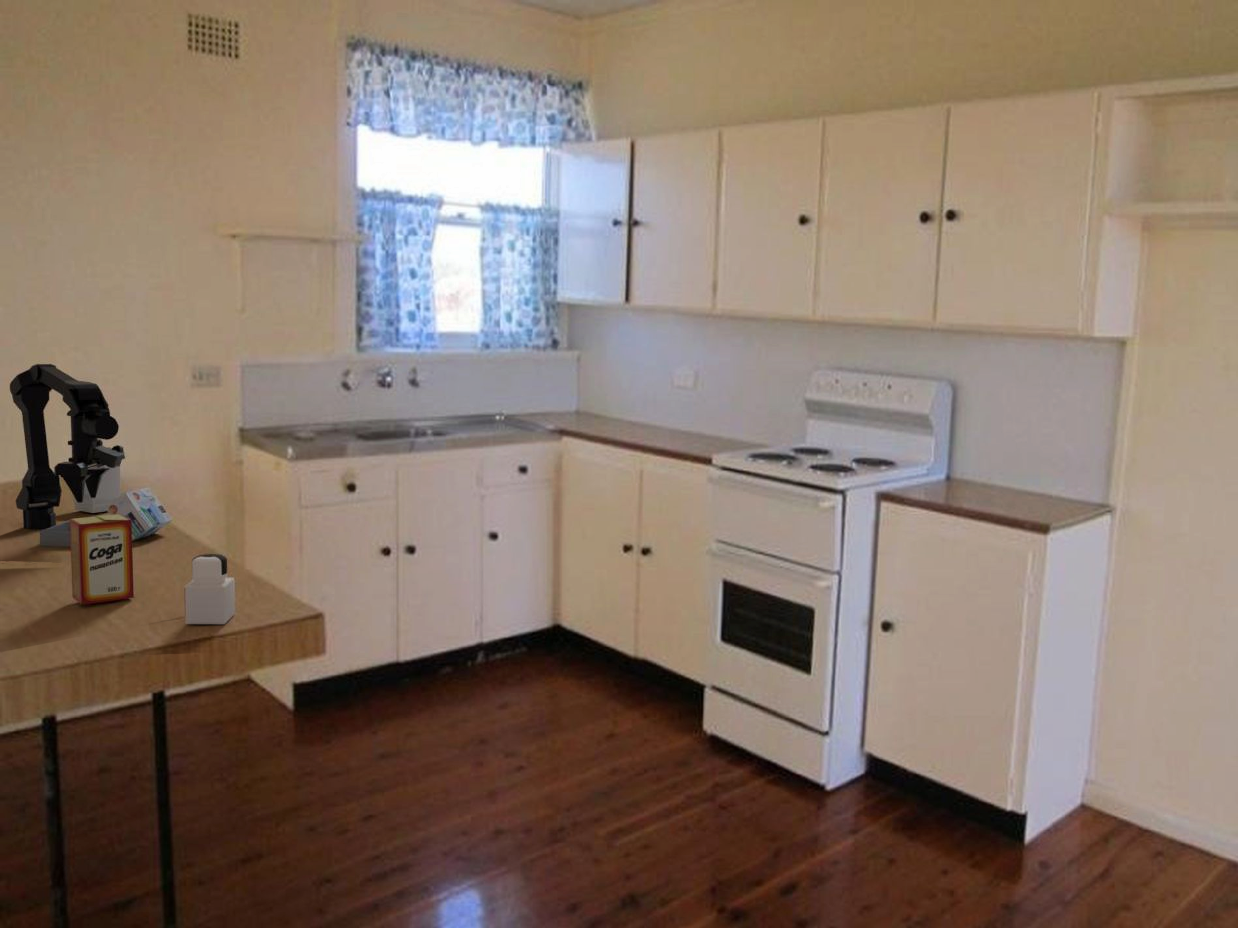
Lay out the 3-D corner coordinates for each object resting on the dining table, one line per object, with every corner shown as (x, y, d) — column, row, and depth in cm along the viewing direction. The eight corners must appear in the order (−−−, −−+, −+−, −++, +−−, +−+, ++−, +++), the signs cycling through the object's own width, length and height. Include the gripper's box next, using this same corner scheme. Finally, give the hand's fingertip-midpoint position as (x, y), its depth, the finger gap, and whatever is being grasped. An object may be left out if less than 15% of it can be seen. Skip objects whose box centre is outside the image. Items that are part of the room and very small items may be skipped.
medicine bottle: (196, 613, 203) (195, 551, 201) (235, 614, 203) (234, 551, 202) (184, 624, 196) (183, 559, 194) (225, 624, 196) (224, 560, 195)
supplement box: (122, 509, 303) (121, 456, 301) (92, 513, 295) (90, 459, 293) (103, 505, 307) (101, 453, 305) (73, 509, 300) (71, 456, 298)
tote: (40, 546, 254) (39, 531, 254) (71, 533, 269) (71, 519, 269) (105, 547, 254) (104, 533, 254) (133, 534, 270) (132, 521, 269)
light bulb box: (173, 520, 271) (150, 527, 260) (154, 534, 272) (129, 543, 261) (148, 485, 271) (124, 491, 260) (129, 500, 272) (103, 507, 261)
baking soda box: (81, 604, 206) (78, 522, 204) (72, 597, 211) (69, 517, 209) (133, 597, 212) (131, 517, 210) (123, 590, 217) (121, 512, 215)
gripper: (100, 441, 249) (102, 507, 252) (135, 432, 268) (136, 494, 270) (51, 440, 249) (54, 506, 251) (89, 431, 268) (92, 493, 270)
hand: (86, 500), depth 261 cm, fingers open, 6 cm apart
